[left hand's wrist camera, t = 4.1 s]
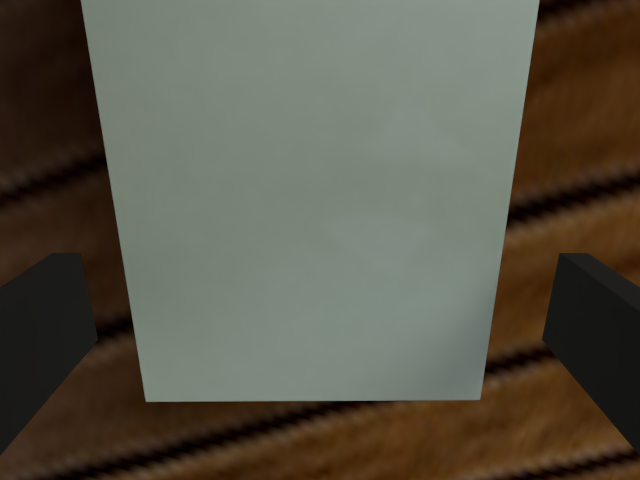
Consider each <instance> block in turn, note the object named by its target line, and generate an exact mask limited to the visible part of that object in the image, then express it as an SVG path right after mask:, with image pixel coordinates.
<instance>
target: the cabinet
mask: <svg viewBox="0 0 640 480" xmlns="http://www.w3.org/2000/svg"><path fill="white" fill-rule="evenodd" d="M81 5H82V11H83V17H84V23H85V29H86V36H87V42H88V48H89V54H90V60H91V66H92V73H93V79H94V85H95V91H96V97H97V104H98V110H99V116H100V122H101V128H102V134H103V141H104V147H105V153H106V159H107V165H108V171H109V178H110V184H111V190H112V196H113V202H114V208H115V215H116V221H117V227H118V233H119V239H120V246H121V252H122V258H123V264H124V270H125V276H126V283H127V289H128V295H129V301H130V307H131V313H132V320H133V326H134V332H135V338H136V344H137V351H138V357H139V363H140V369H141V375H142V381H143V388H144V394H145V400H146V402H215V401H383V400H480V397H481V390H482V383H483V377H484V370H485V363H486V356H487V350H488V343H489V336H490V329H491V323H492V316H493V309H494V302H495V296H496V289H497V282H498V276H499V269H500V262H501V255H502V249H503V242H504V235H505V228H506V222H507V215H508V208H509V201H510V195H511V188H512V181H513V174H514V168H515V161H516V154H517V148H518V141H519V134H520V127H521V121H522V114H523V107H524V100H525V94H526V87H527V80H528V73H529V67H530V60H531V53H532V46H533V40H534V33H535V26H536V19H537V13H538V6H539V0H81Z"/></svg>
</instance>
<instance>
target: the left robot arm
mask: <svg viewBox="0 0 640 480" xmlns="http://www.w3.org/2000/svg"><path fill="white" fill-rule="evenodd" d="M97 340H98V338H97V333H96V328H95V323H94V318H93V313H92V308H91V303H90V298H89V293H88V288H87V283H86V279H85V274H84V269H83V264H82V259H81V254H80V253H52V254H50V255H49V256H47V257H46V258H44V259H43V260H41V261H40V262H38V263H37V264H35V265H34V266H32V267H31V268H29V269H28V270H26V271H25V272H23V273H22V274H20V275H19V276H17V277H16V278H14V279H13V280H11V281H9V282H8V283H6V284H5V285H3V286H2V287H0V455H1V454H2V453H3V452H4V450H5V449H6V448H7V447H8V446H9V445H10V443H11V442H12V441H13V440H14V439H15V437H16V436H17V435H18V434H19V433H20V431H21V430H22V429H23V428H24V427H25V426H26V424H27V423H28V422H29V421H30V420H31V418H32V417H33V416H34V415H35V414H36V413H37V411H38V410H39V409H40V408H41V407H42V405H43V404H44V403H45V402H46V401H47V399H48V398H49V397H50V396H51V395H52V394H53V392H54V391H55V390H56V389H57V388H58V386H59V385H60V384H61V383H62V382H63V381H64V379H65V378H66V377H67V376H68V375H69V373H70V372H71V371H72V370H73V369H74V367H75V366H76V365H77V364H78V363H79V362H80V360H81V359H82V358H83V357H84V356H85V354H86V353H87V352H88V351H89V350H90V349H91V347H92V346H93V345H94V344H95V343H96V341H97ZM542 340H543V341H544V343H545V344H546V345H547V346H548V347H549V349H550V350H551V351H552V352H553V353H554V354H555V356H556V357H557V358H558V359H559V360H560V362H561V363H562V364H563V365H564V366H565V367H566V369H567V370H568V371H569V372H570V373H571V375H572V376H573V377H574V378H575V379H576V381H577V382H578V383H579V384H580V385H581V386H582V388H583V389H584V390H585V391H586V392H587V394H588V395H589V396H590V397H591V398H592V399H593V401H594V402H595V403H596V404H597V405H598V407H599V408H600V409H601V410H602V411H603V413H604V414H605V415H606V416H607V417H608V418H609V420H610V421H611V422H612V423H613V424H614V426H615V427H616V428H617V429H618V430H619V431H620V433H621V434H622V435H623V436H624V437H625V439H626V440H627V441H628V442H629V443H630V445H631V446H632V447H633V448H634V449H635V450H636V452H637V453H638V454H639V455H640V287H638V286H637V285H635V284H634V283H632V282H631V281H629V280H627V279H626V278H624V277H623V276H621V275H620V274H618V273H617V272H615V271H614V270H612V269H611V268H609V267H608V266H606V265H605V264H603V263H602V262H600V261H599V260H597V259H596V258H594V257H593V256H591V255H590V254H588V253H560V254H559V259H558V264H557V269H556V274H555V279H554V283H553V288H552V293H551V298H550V303H549V308H548V313H547V318H546V323H545V328H544V333H543V338H542Z"/></svg>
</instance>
